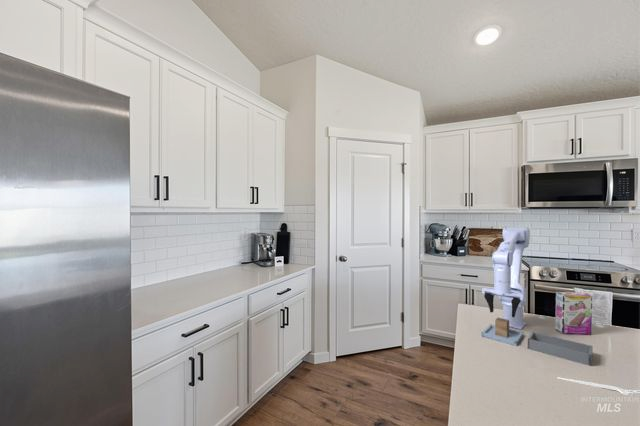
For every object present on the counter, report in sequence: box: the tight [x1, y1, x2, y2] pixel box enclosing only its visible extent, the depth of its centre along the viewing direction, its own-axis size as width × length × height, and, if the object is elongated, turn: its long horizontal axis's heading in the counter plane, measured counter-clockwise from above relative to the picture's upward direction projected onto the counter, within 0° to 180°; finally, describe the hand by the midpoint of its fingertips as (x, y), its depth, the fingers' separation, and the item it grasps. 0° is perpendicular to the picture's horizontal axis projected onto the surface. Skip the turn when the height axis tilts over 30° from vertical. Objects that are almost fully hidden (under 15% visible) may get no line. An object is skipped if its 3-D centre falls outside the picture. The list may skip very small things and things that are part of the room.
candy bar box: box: [554, 291, 593, 336], centre depth 122 cm, size 11×5×16 cm, turn 84°
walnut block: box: [494, 317, 510, 338], centre depth 118 cm, size 4×4×6 cm
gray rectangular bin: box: [527, 331, 594, 367], centre depth 105 cm, size 9×17×4 cm, turn 45°
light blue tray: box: [481, 324, 524, 347], centre depth 118 cm, size 12×12×2 cm
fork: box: [556, 376, 640, 396], centre depth 84 cm, size 3×20×2 cm, turn 62°
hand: (502, 314), depth 118 cm, fingers open, 7 cm apart
